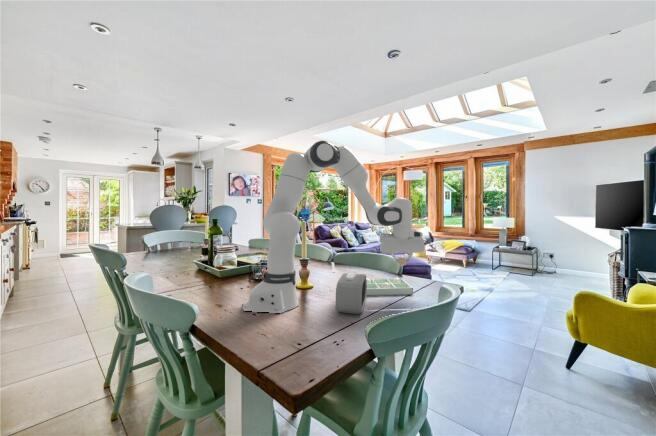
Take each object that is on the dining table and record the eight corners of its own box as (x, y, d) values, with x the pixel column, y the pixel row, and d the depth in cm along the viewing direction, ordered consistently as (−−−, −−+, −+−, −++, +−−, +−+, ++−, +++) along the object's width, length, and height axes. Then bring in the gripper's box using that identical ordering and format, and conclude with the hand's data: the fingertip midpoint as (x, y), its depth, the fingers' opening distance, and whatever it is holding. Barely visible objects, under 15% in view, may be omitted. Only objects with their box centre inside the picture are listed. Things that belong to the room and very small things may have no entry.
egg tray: (362, 296, 124) (362, 288, 124) (357, 286, 139) (357, 279, 139) (412, 295, 125) (413, 287, 125) (401, 285, 141) (402, 278, 140)
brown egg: (398, 267, 126) (398, 257, 126) (395, 264, 130) (395, 255, 130) (408, 266, 126) (408, 257, 126) (404, 264, 131) (404, 255, 130)
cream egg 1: (363, 288, 133) (363, 279, 133) (361, 285, 138) (361, 277, 137) (372, 288, 134) (372, 279, 133) (370, 285, 138) (370, 277, 138)
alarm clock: (361, 319, 100) (361, 283, 99) (335, 316, 102) (335, 281, 102) (366, 299, 120) (367, 269, 119) (345, 298, 122) (345, 268, 122)
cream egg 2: (382, 293, 126) (382, 284, 126) (379, 290, 131) (379, 281, 130) (391, 293, 126) (391, 283, 126) (389, 290, 131) (389, 281, 131)
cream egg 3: (393, 288, 134) (393, 279, 134) (390, 285, 138) (391, 276, 138) (402, 287, 134) (402, 279, 134) (399, 285, 139) (399, 276, 138)
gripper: (381, 233, 124) (381, 264, 124) (426, 233, 125) (425, 263, 126) (378, 232, 130) (378, 261, 131) (420, 231, 131) (420, 260, 132)
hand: (401, 262), depth 128 cm, fingers closed on brown egg, 4 cm apart
